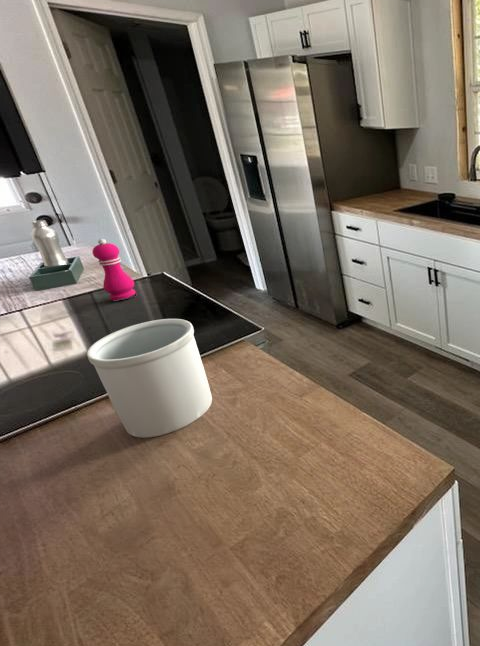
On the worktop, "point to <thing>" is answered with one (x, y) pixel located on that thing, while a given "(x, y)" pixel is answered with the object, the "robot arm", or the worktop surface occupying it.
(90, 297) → the worktop surface
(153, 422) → the utensil holder
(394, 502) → the worktop surface
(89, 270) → the worktop surface
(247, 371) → the worktop surface
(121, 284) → the pepper mill
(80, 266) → the divided storage box
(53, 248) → the silver metal bottle
